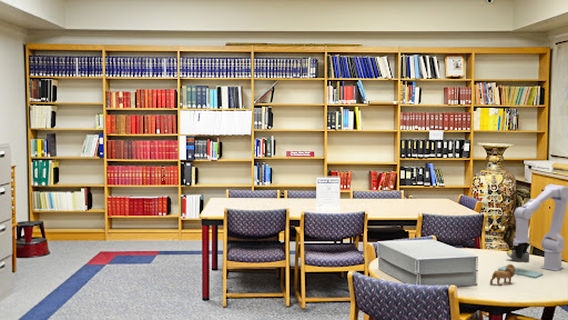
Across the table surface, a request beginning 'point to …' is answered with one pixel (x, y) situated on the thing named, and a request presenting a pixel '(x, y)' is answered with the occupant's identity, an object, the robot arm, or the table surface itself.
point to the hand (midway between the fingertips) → (520, 257)
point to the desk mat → (523, 272)
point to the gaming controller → (511, 252)
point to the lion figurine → (504, 274)
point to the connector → (524, 258)
